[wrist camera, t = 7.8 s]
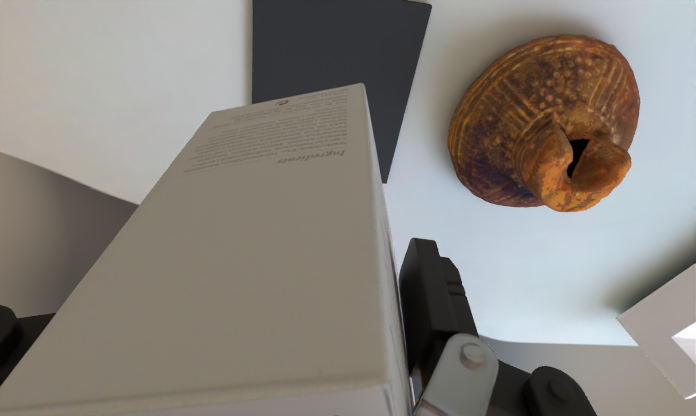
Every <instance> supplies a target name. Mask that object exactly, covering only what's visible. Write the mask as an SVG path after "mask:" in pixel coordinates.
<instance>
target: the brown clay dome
mask: <svg viewBox="0 0 696 416" xmlns="http://www.w3.org/2000/svg"><path fill="white" fill-rule="evenodd" d="M639 108H640V97H639V91H638V87H637V83H636V80H635V77H634V73H633V71H632V69H631V67H630V65H629V63H628V61H627V60H626V58H625V57H624V56H623V55H622V54H621V53H620V52H619V51H618V50H617V49H616V47H615V46H614V45H609V44H607V43H605V42H602V41H600V40H597V39H593V38H590V37H587V36H584V35H558V36H549V37H543V38H539V39H535V40H533V41H531V42H529V43H527V44H525V45H522V46H519V47H517V48H515V49H513V50H511V51H509V52H508V53H506V54H505V55H504V56H503V57H501V58H500V59H498V60H496V61H495V62H494V63H493V64H491V65H490V66H489V67H488V68H487V69H486V70H485V71H484V72H483V73H482V75H481V76H480V77H479V78H478V79H477V80H476V81H475V82H474V83H473V84H472V85H471V86H470V88H469V89H468V91H467V92H466V94H465V96H464V97H463V99H462V100H461V102H460V104H459V105H458V107H457V109H456V111H455V114H454V116H453V118H452V121H451V124H450V128H449V136H448V149H449V152H450V155H451V159H452V163H453V165H454V168H455V171H456V174H457V177H458V179H459V180H460V181H461V183H462V184H463V185H464V186H465V187H466V188H467V189H469V190H470V191H471V192H472V193H473V194H474V195H475V196H477V197H479V198H481V199H483V200H485V201H487V202H489V203H493V204H497V205H502V206H510V207H537V206H542V205H546V206H548V207H549V208H551V209H553V210H555V211H559V212H577V211H583V210H587V209H589V208H590V207H592V206H594V205H595V204H597V203H598V202H599V201H600V200H601V199H602V198H604V197H606V196H608V195H609V194H610V193H611V192H612V190H613V189H614V188H615V187H617V186H618V185H619V184H620V183H621V181H622V180H623V178H624V177H625V175H626V173H627V172H628V170H629V169H630V167H631V157H630V155H629V153H628V152H627V151H628V149H629V147H630V145H631V143H632V141H633V137H634V135H635V131H636V128H637V122H638V117H639ZM574 161H575V162H574Z"/></svg>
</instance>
